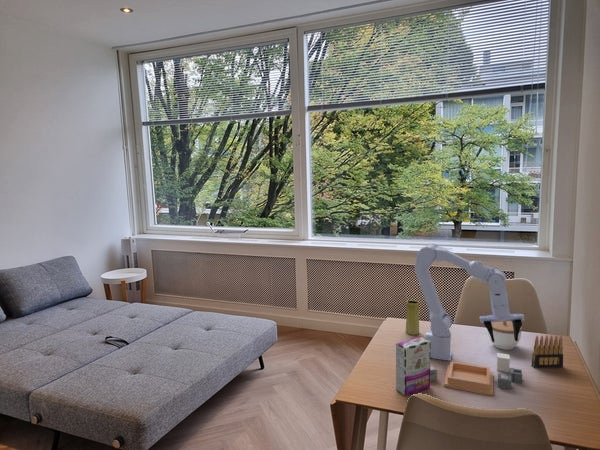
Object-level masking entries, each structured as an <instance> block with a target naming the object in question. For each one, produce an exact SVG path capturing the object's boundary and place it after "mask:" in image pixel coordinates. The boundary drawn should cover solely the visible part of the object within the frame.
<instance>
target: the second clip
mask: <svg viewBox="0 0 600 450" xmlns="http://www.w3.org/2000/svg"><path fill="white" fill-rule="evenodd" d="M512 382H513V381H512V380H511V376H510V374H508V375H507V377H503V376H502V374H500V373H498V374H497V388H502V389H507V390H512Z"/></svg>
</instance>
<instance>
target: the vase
mask: <svg viewBox="0 0 600 450" xmlns="http://www.w3.org/2000/svg"><path fill="white" fill-rule="evenodd" d="M405 320H406V321H405V331H404V332H405V333H406V334H407V335H410V336H416V335H419V334H420V302H419V301H418V300H413V299H412V300H411V299H410V300H407V301H406V319H405Z"/></svg>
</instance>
